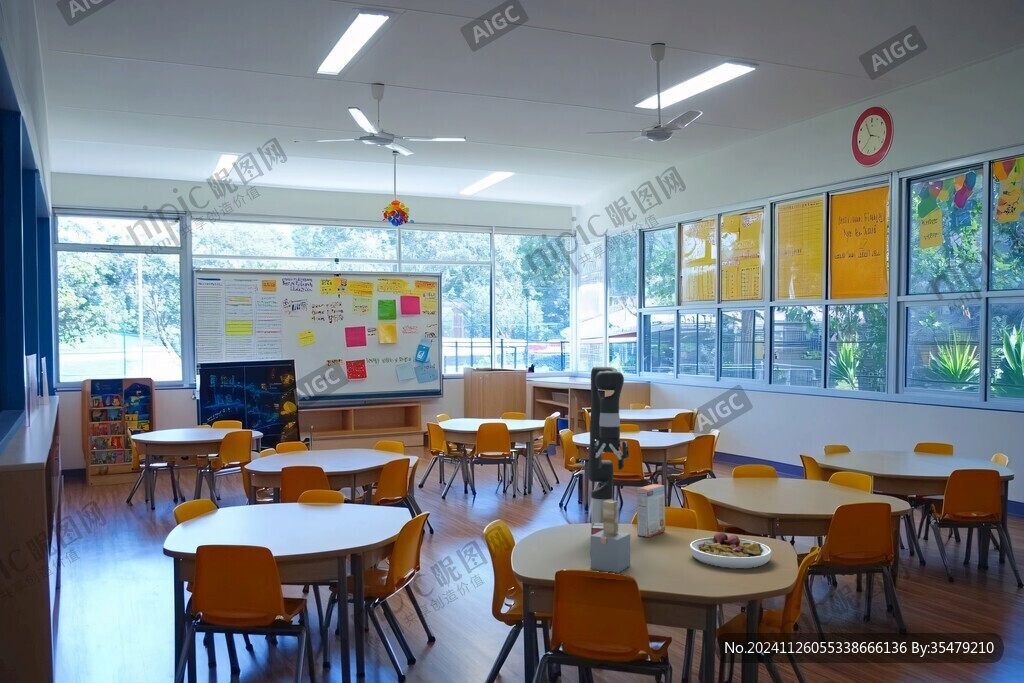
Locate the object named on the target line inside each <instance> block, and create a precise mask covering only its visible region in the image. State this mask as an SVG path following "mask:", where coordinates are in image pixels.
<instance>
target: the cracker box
mask: <svg viewBox="0 0 1024 683" xmlns="http://www.w3.org/2000/svg"><path fill="white" fill-rule="evenodd" d="M665 495H666V494H665V485H663V484H659V483H658V484H657V483H652V484H649V485H645V486H641V487H637V488H636V509H637V510H636V511H637V512H636V513H637V514H636V517H637V522H636V523H637V525H636V526H637V536H638V535H639V536H638V537H643V536H645V537H644V538H651V537H653V535H654V536H657V535H660V534H662V533H661V532H663V533H665V532H666V514H665V513H666V504H665V502H666V501H665V500H666V499H665V498H666V496H665ZM664 531H665V532H664ZM659 533H660V534H659ZM656 534H657V535H656ZM650 536H651V537H650Z"/></svg>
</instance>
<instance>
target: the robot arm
mask: <svg viewBox="0 0 1024 683" xmlns="http://www.w3.org/2000/svg"><path fill="white" fill-rule="evenodd" d="M624 382H625V377H624V375H623V373H622V372H621V371H618V370H617V369H616V368H615V367H612V366H594V367H592V368H591V371H590V417H589V418H590V419H589V420H590V421H589V451H588V452H589V454H588V455H589V456H588V462H587V463H588V464H587V477H588V480H589V481H590V482H593V483H597V482H598V483H603V485H601V486H599V487H598V488H595V489H593V490H591V494H590V496H591V498H590V500H591V503H590V504H591V505H590V506H591V507H590V508H591V509H590V510H591V516H590V517H591V519H590V520H591V521H590V522H591V528H592V526H593V524H594V523H603V502H604V501H607V500H612V501H614V494H613V493H614V472H615V470H614V463H613V462H612V460H610V459H603V458H602V456H603V455H604V454H605V453H611V454H612V453H613V454H614V455H615V456H616V457H617V460H618V462H617V465H618V466H617V468H618V470H619V471H620V470H623V469H624V468H625V467H624V466H625V459H627V458H629V454H630V453H629V442H628V441H621V440H620V439H621V421H620V399H621V393H622V391H623V390H622V389H623V385H624ZM599 391H613V393H612V394H611V395H607V396H603V397H601V395H600V392H599ZM620 446H621V448H622V449H620ZM621 450H622V451H621ZM591 528H590V529H591Z"/></svg>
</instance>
